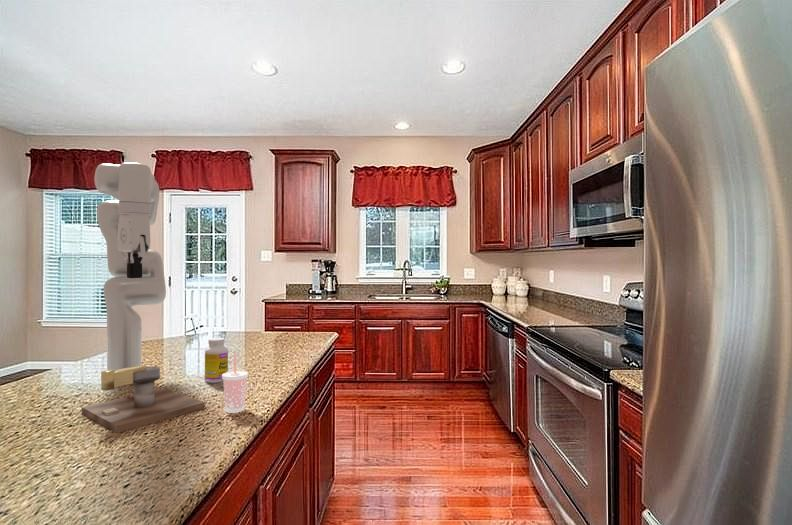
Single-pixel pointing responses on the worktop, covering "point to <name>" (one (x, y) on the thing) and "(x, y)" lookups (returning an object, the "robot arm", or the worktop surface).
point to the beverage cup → (234, 389)
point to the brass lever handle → (128, 376)
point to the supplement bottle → (216, 360)
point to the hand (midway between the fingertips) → (134, 277)
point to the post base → (141, 408)
